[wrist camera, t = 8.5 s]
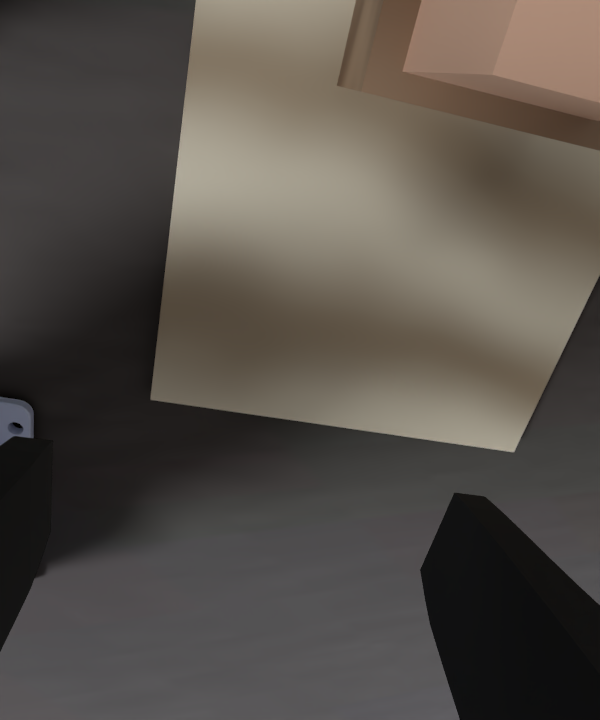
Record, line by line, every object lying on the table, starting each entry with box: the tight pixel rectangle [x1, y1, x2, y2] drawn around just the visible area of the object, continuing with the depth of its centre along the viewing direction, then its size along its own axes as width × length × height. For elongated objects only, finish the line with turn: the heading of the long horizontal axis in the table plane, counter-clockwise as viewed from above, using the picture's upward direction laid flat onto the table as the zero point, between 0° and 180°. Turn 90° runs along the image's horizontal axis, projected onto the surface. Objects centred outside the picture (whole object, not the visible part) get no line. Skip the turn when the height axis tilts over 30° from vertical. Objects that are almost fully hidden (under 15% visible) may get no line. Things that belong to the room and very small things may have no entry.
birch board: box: [150, 0, 600, 452], centre depth 16 cm, size 20×14×1 cm
